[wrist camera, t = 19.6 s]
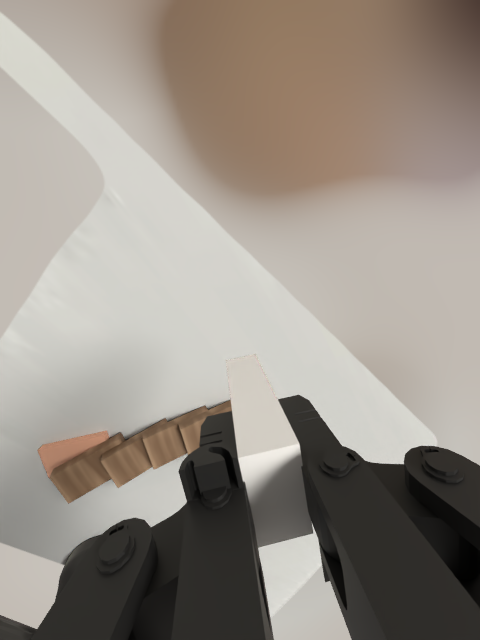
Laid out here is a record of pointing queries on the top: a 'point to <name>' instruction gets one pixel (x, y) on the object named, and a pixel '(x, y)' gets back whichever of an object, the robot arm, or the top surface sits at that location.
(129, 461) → the domino
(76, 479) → the domino
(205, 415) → the domino
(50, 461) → the domino
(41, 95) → the top surface
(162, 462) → the domino
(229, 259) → the top surface
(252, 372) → the robot arm
